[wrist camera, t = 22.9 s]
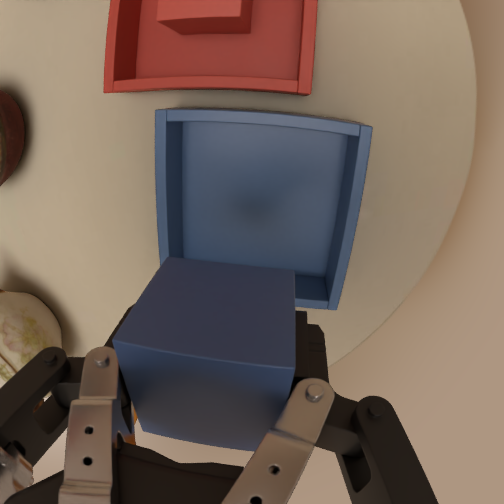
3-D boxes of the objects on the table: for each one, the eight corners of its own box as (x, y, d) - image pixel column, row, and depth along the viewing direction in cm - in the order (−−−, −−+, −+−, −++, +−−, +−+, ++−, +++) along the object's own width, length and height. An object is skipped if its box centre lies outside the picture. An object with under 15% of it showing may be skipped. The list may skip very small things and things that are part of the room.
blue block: (294, 269, 12) (295, 368, 8) (279, 361, 14) (273, 453, 10) (166, 255, 12) (110, 339, 8) (175, 347, 15) (142, 431, 10)
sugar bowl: (103, 380, 38) (59, 466, 25) (32, 362, 40) (-13, 427, 26) (51, 253, 29) (-40, 339, 16) (-18, 252, 31) (-91, 313, 18)
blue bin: (358, 122, 21) (373, 126, 17) (331, 282, 27) (336, 310, 24) (175, 107, 22) (155, 109, 18) (177, 265, 28) (162, 290, 24)
